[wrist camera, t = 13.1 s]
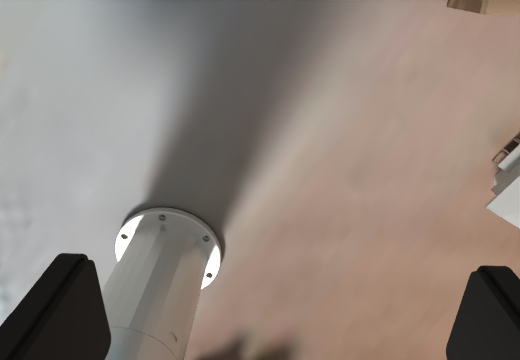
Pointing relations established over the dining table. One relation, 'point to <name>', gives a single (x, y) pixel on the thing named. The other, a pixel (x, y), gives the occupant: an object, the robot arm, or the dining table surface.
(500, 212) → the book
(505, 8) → the drop box
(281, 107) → the dining table surface
